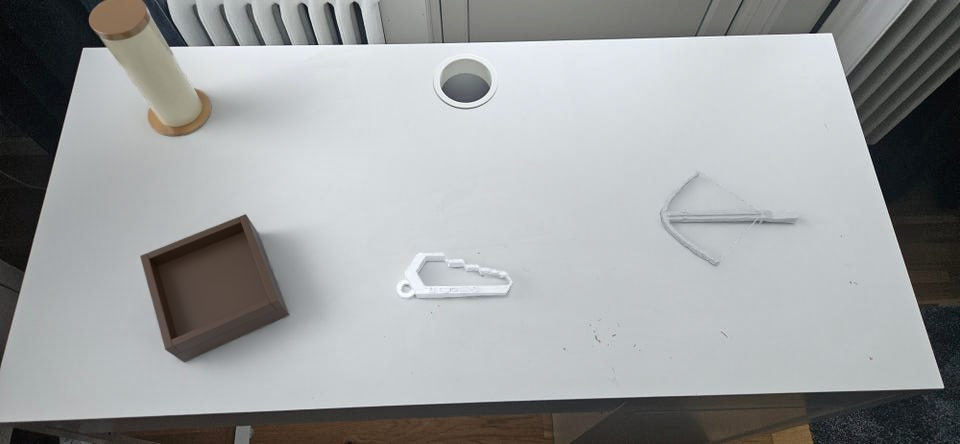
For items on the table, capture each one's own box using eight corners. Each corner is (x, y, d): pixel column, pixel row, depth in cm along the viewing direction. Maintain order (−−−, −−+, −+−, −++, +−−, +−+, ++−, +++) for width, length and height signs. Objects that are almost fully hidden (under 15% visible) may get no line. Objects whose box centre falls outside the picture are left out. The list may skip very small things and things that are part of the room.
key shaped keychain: (510, 257, 69) (511, 251, 68) (512, 297, 67) (513, 291, 65) (398, 259, 69) (397, 252, 67) (396, 299, 66) (395, 293, 65)
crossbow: (667, 268, 70) (671, 261, 68) (652, 178, 76) (656, 169, 74) (806, 266, 69) (814, 259, 67) (780, 176, 75) (786, 166, 73)
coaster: (156, 144, 76) (155, 143, 76) (143, 101, 79) (141, 99, 79) (218, 122, 78) (217, 121, 78) (202, 81, 81) (201, 79, 81)
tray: (184, 362, 63) (164, 349, 59) (158, 272, 67) (139, 255, 64) (289, 315, 65) (278, 300, 61) (258, 232, 70) (245, 213, 66)
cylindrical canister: (212, 107, 79) (157, 11, 65) (176, 135, 76) (110, 42, 62) (184, 85, 80) (124, -13, 66) (147, 112, 78) (77, 16, 64)
